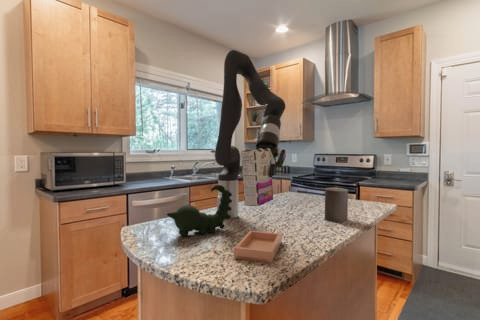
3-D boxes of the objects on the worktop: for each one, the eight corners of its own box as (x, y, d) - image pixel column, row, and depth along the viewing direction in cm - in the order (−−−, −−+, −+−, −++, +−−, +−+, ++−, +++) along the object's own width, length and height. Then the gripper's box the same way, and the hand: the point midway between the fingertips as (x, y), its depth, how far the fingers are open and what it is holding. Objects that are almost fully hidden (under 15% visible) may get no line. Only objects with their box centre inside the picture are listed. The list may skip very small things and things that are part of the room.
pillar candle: (320, 220, 117) (321, 186, 116) (329, 215, 124) (329, 184, 124) (343, 224, 111) (344, 188, 110) (350, 219, 118) (351, 185, 117)
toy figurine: (222, 229, 109) (161, 234, 96) (225, 183, 109) (165, 182, 96) (233, 235, 101) (168, 241, 88) (237, 186, 101) (173, 185, 88)
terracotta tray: (233, 258, 75) (233, 247, 75) (250, 239, 92) (249, 230, 91) (272, 262, 72) (272, 252, 72) (281, 242, 88) (281, 233, 88)
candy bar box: (259, 199, 88) (257, 150, 87) (273, 200, 85) (271, 149, 85) (243, 205, 78) (240, 150, 78) (258, 206, 75) (255, 149, 75)
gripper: (246, 131, 93) (236, 167, 82) (287, 130, 89) (282, 167, 78) (250, 146, 99) (241, 182, 88) (289, 146, 94) (285, 183, 83)
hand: (260, 175), depth 83 cm, fingers closed on candy bar box, 5 cm apart
